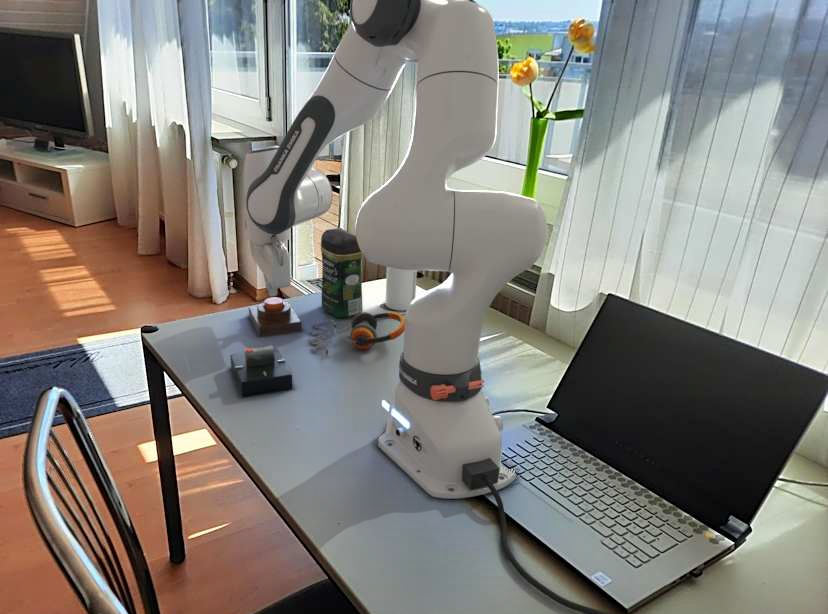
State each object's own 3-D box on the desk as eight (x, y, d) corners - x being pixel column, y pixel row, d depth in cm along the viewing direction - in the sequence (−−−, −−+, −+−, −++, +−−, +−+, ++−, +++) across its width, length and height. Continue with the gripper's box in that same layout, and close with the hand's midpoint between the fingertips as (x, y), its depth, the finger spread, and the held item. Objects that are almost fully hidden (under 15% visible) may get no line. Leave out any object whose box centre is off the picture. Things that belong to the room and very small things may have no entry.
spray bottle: (420, 305, 151) (425, 229, 143) (401, 313, 147) (405, 236, 139) (398, 297, 156) (401, 223, 147) (379, 305, 151) (381, 229, 143)
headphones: (310, 312, 140) (401, 294, 138) (316, 333, 142) (406, 316, 140) (302, 347, 125) (405, 328, 123) (309, 371, 128) (410, 352, 125)
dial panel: (293, 389, 116) (292, 373, 115) (241, 397, 113) (240, 381, 112) (278, 361, 125) (277, 347, 124) (230, 368, 123) (229, 353, 121)
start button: (285, 310, 138) (285, 303, 138) (266, 312, 137) (266, 305, 136) (280, 303, 142) (280, 296, 141) (262, 305, 141) (262, 298, 140)
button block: (301, 331, 138) (301, 313, 136) (259, 336, 135) (258, 319, 133) (288, 311, 147) (287, 294, 145) (249, 316, 144) (247, 299, 143)
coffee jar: (316, 307, 150) (314, 228, 141) (345, 300, 153) (346, 223, 145) (337, 322, 142) (337, 240, 134) (367, 314, 146) (369, 234, 138)
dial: (272, 360, 120) (271, 344, 118) (274, 363, 118) (274, 347, 117) (245, 364, 118) (244, 348, 117) (247, 368, 117) (246, 351, 115)
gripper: (297, 242, 124) (299, 309, 130) (272, 216, 141) (274, 276, 147) (265, 245, 122) (268, 313, 128) (243, 218, 139) (247, 279, 145)
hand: (271, 293), depth 137 cm, fingers closed
